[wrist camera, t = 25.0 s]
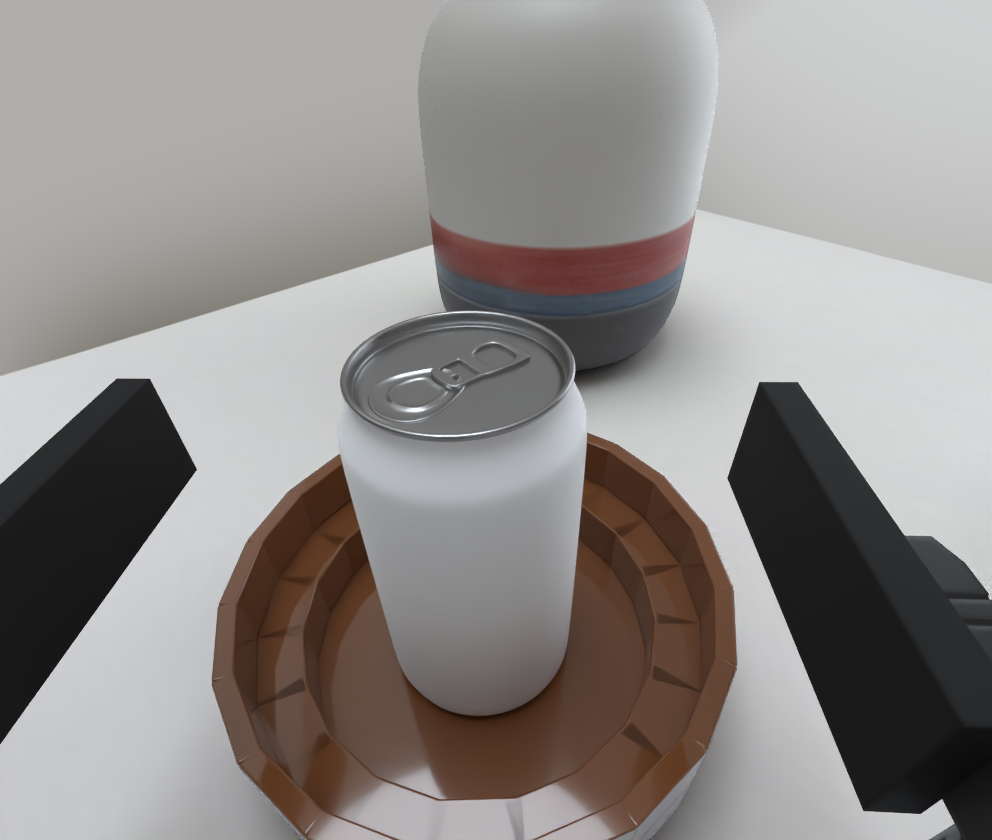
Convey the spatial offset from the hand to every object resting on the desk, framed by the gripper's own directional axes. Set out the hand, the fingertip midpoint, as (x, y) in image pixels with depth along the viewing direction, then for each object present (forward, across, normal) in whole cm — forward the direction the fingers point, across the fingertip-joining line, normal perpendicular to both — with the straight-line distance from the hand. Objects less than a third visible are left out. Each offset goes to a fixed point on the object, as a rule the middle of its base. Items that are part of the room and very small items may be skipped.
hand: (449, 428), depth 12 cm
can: (+2, 0, -12) cm, 12 cm away
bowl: (+2, 0, -12) cm, 12 cm away
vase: (+27, +4, -12) cm, 30 cm away
